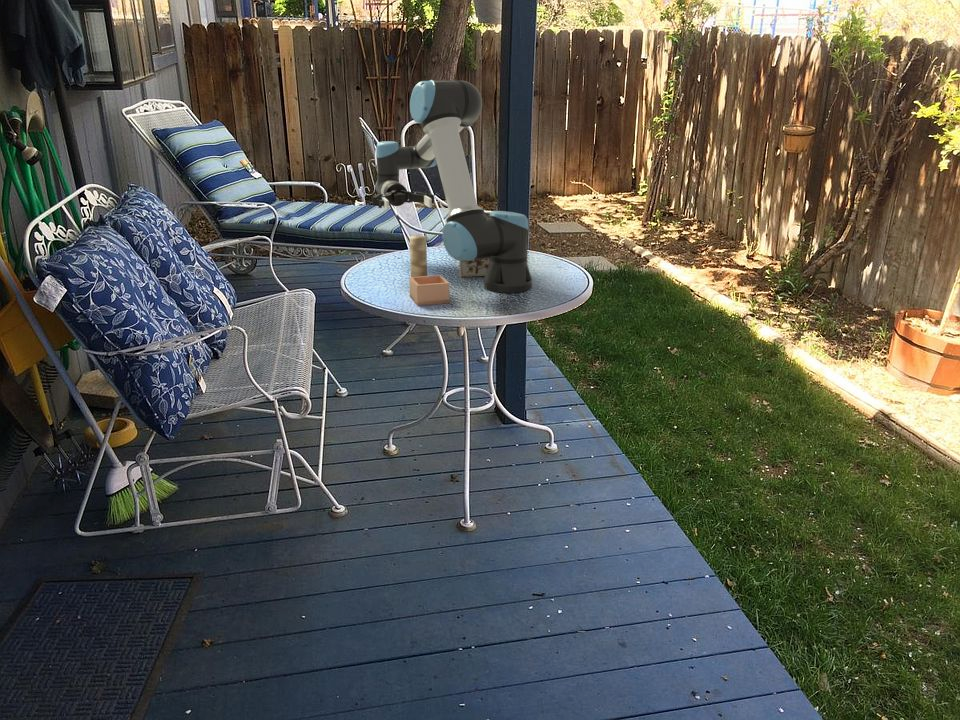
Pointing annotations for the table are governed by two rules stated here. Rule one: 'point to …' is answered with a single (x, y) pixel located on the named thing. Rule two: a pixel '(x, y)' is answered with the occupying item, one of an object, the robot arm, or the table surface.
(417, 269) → the peg
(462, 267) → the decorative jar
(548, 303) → the table surface
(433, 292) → the box
